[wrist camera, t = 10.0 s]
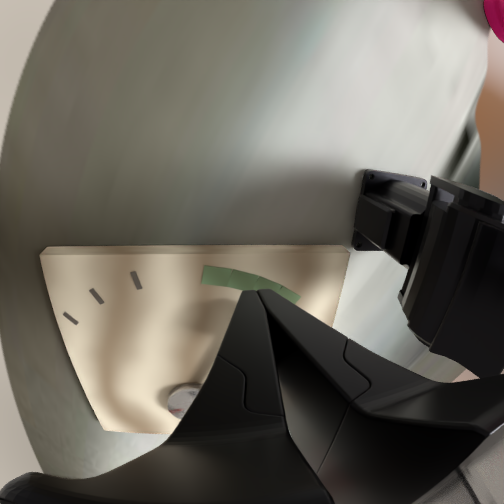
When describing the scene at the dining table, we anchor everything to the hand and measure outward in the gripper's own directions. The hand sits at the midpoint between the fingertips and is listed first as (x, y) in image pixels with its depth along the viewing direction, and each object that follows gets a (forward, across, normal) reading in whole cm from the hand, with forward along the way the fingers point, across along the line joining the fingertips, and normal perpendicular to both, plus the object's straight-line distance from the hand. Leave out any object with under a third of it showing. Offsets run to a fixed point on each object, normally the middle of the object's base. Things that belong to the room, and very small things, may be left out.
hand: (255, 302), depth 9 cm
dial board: (+12, +3, +14) cm, 19 cm away
